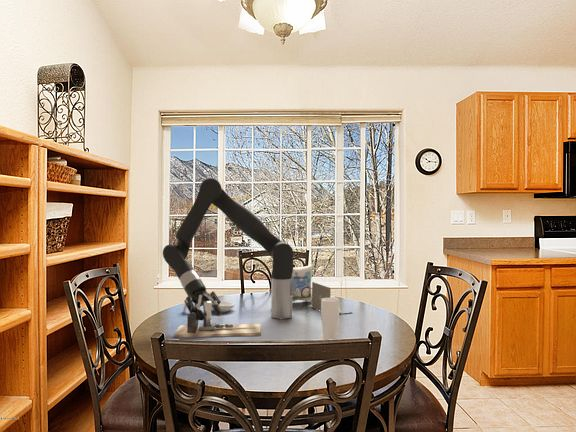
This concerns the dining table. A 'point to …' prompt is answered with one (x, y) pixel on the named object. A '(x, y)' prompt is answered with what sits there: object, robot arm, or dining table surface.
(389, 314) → the dining table surface
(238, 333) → the tensioner rail
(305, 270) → the pouch
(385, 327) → the dining table surface
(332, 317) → the drinking glass
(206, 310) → the chain handle
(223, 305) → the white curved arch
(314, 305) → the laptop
